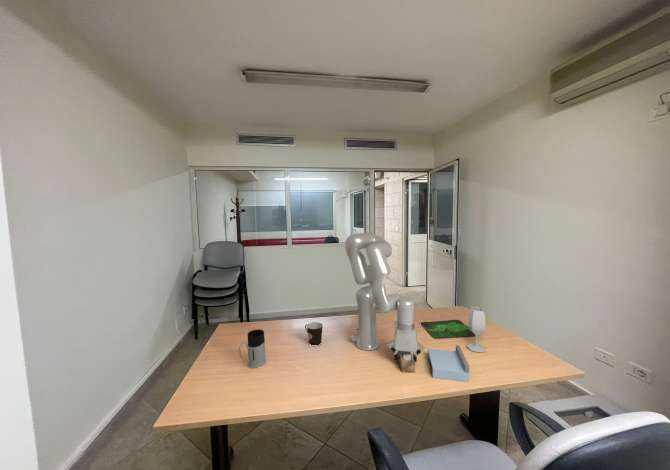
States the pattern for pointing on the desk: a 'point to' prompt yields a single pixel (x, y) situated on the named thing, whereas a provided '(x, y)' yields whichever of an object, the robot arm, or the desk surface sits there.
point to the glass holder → (255, 348)
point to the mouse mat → (447, 329)
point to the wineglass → (476, 327)
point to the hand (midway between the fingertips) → (405, 361)
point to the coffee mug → (314, 332)
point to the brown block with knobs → (406, 362)
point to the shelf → (449, 364)
